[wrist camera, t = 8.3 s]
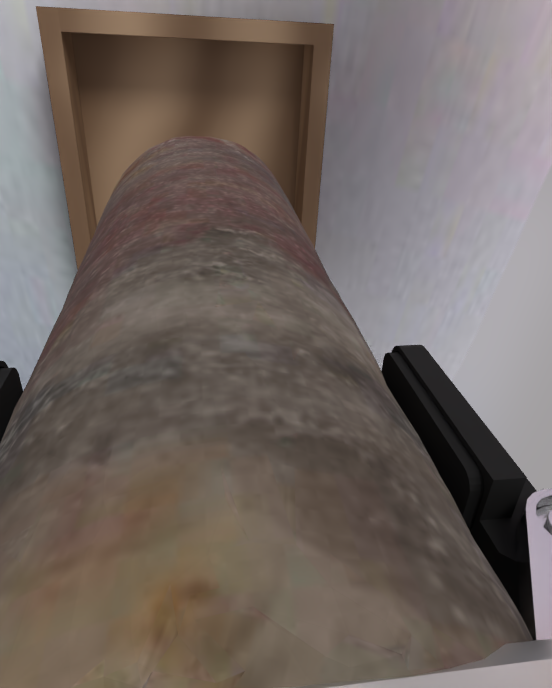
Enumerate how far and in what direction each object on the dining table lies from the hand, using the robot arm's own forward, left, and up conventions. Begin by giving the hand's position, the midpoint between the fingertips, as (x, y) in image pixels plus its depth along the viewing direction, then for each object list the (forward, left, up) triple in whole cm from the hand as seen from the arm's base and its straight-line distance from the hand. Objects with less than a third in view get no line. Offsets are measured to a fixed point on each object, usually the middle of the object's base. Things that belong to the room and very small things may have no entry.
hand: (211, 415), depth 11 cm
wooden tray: (0, 0, -26) cm, 26 cm away
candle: (0, 0, -13) cm, 13 cm away
